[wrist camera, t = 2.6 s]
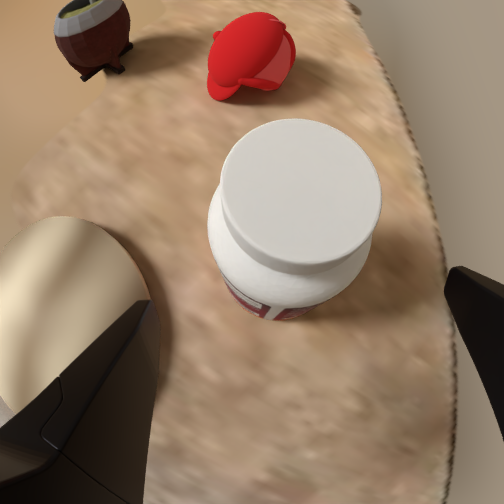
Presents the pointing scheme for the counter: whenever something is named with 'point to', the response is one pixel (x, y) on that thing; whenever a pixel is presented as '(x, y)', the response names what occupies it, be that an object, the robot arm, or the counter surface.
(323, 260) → the pill bottle
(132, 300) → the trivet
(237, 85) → the cap
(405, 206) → the counter surface
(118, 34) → the mate gourd
